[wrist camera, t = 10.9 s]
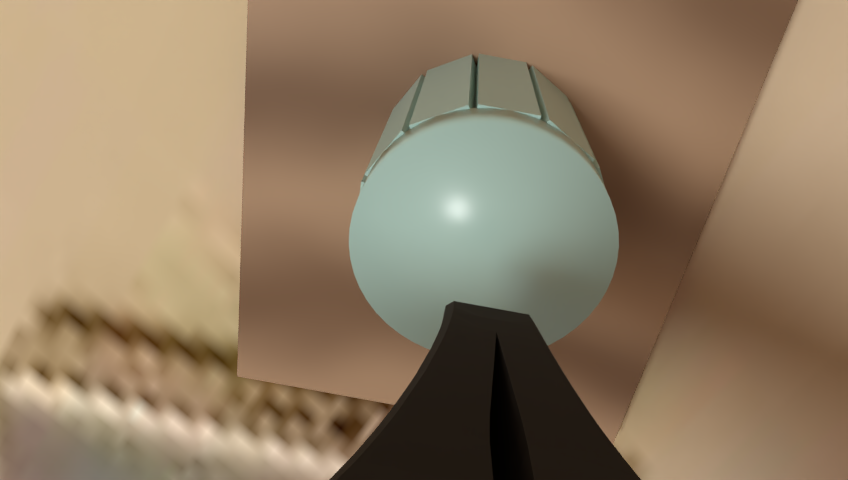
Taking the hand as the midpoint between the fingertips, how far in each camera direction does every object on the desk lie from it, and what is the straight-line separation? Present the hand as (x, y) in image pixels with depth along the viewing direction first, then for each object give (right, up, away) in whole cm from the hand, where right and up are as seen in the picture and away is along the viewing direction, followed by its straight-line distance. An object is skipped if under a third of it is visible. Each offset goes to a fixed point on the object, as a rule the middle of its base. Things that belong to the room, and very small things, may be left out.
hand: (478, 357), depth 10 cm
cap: (+1, +4, +8) cm, 9 cm away
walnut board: (+1, +5, +9) cm, 10 cm away
